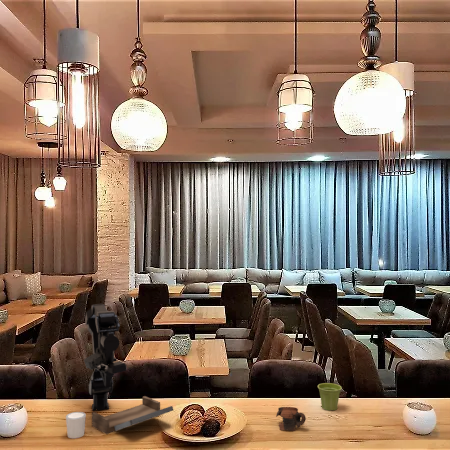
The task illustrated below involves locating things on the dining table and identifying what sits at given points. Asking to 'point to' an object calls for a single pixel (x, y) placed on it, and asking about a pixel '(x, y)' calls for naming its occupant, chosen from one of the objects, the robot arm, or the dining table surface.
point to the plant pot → (329, 395)
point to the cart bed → (124, 415)
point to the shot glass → (75, 424)
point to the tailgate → (143, 418)
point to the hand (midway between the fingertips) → (106, 386)
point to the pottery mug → (290, 418)
